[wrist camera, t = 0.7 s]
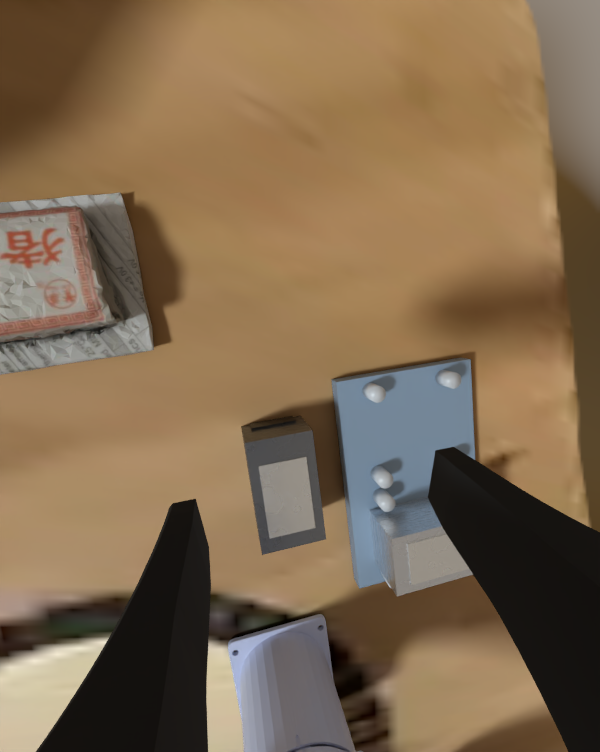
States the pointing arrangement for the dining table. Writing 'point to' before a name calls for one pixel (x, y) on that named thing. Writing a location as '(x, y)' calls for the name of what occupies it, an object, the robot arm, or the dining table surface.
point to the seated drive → (414, 547)
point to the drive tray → (396, 441)
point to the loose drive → (284, 483)
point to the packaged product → (69, 283)
